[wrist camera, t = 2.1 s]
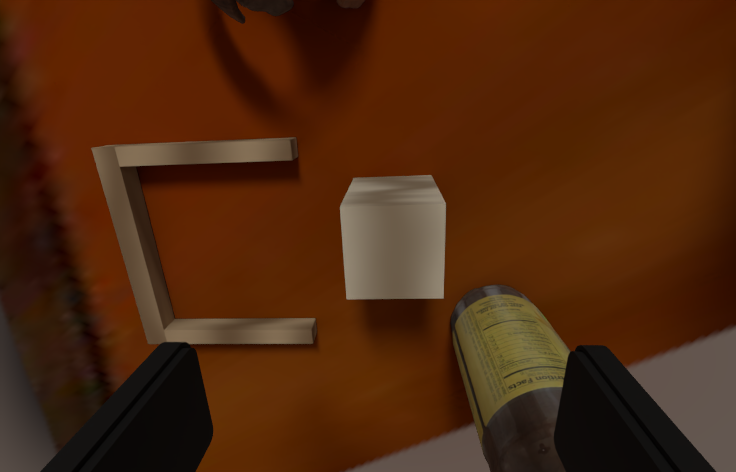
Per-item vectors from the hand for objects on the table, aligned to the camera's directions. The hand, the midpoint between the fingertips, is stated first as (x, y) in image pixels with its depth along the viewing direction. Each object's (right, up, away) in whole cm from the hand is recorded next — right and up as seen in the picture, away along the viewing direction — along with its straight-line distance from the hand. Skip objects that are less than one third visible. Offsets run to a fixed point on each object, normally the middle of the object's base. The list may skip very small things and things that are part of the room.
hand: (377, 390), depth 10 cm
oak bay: (-10, +3, +17) cm, 20 cm away
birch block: (+1, +5, +16) cm, 17 cm away
